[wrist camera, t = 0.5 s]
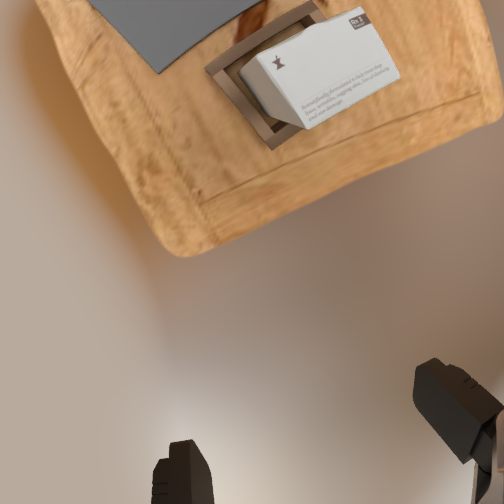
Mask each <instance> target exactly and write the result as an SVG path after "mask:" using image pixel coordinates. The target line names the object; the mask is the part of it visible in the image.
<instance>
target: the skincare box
mask: <svg viewBox="0 0 504 504" xmlns="http://www.w3.org/2000/svg"><path fill="white" fill-rule="evenodd" d="M238 75H239V76H240V78H241V79H242V81H243V82H244V84H245V85H246V86H247V88H248V89H249V91H250V92H251V94H252V95H253V97H254V98H255V99H256V101H257V102H258V104H259V105H260V107H261V108H262V110H263V111H264V113H265V114H266V115H267V116H269V117H272V118H276V119H278V120H281V121H284V122H287V123H290V124H293V125H296V126H299V127H301V128H304V129H306V130H310V129H311V128H313V127H315V126H316V125H318V124H320V123H322V122H323V121H325V120H327V119H329V118H330V117H332V116H334V115H336V114H337V113H339V112H341V111H343V110H345V109H346V108H348V107H350V106H352V105H353V104H355V103H357V102H359V101H360V100H362V99H364V98H366V97H367V96H369V95H371V94H373V93H375V92H376V91H378V90H380V89H382V88H384V87H385V86H387V85H389V84H391V83H392V82H394V81H396V80H398V79H399V78H401V76H400V74H399V72H398V70H397V67H396V65H395V64H394V62H393V60H392V58H391V56H390V54H389V52H388V51H387V49H386V47H385V45H384V43H383V42H382V40H381V38H380V36H379V35H378V33H377V31H376V30H375V28H374V26H373V25H372V23H371V22H370V20H369V19H368V17H367V16H366V14H365V12H364V10H363V9H362V7H360V6H359V7H356V8H354V9H351V10H349V11H346V12H344V13H341V14H339V15H336V16H334V17H332V18H329V19H327V20H324V21H322V22H320V23H317V24H314V25H311V26H309V27H308V28H306V29H305V30H303V31H301V32H299V33H297V34H295V35H293V36H291V37H289V38H287V39H285V40H284V41H282V42H280V43H278V44H277V45H275V46H273V47H271V48H269V49H267V50H264V51H262V52H260V53H258V54H257V55H255V56H254V57H253V58H252V59H251V60H250V61H249V62H248V63H247V64H246V65H244V66H243V67H242V68H241V69H240V70H239V71H238Z"/></svg>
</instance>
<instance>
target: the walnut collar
mask: <svg viewBox="0 0 504 504" xmlns="http://www.w3.org/2000/svg"><path fill="white" fill-rule="evenodd" d="M324 20H327V19H326V18H325V16H324V15H323V14H322V12H321V11H320V10H319V9H318V7H317V6H316V5H315V4H314V2H313V1H312V0H310V1H308V2H306V3H304V4H302V5H300V6H298V7H296V8H295V9H293V10H291V11H289V12H287V13H286V14H284V15H282V16H281V17H279V18H277V19H275V20H274V21H272V22H270V23H269V24H267V25H265V26H264V27H262V28H261V29H259V30H257V31H256V32H254V33H253V34H251V35H250V36H248V37H247V38H245V39H244V40H242V41H241V42H239V43H238V44H236V45H235V46H233V47H232V48H230V49H229V50H227V51H226V52H225V53H223V54H222V55H220V56H219V57H218V58H216V59H215V60H213V61H212V62H211V63H209V64H208V65H207V66H205V67H204V69H205V70H206V71H207V72H208V73H209V75H210V76H211V77H212V78H213V79H214V80H215V81H216V83H217V84H218V85H219V86H220V87H221V89H222V90H223V91H224V92H225V93H226V94H227V96H228V97H229V98H230V99H231V100H232V102H233V103H234V104H235V105H236V107H237V108H238V109H239V110H240V111H241V113H242V114H243V115H244V116H245V118H246V119H247V120H248V121H249V123H250V124H251V125H252V126H253V128H254V129H255V130H256V131H257V133H258V134H259V135H260V137H261V138H262V139H263V140H264V142H265V143H266V144H267V145H268V147H269V148H270V149H271V150H274V149H275V148H276V147H278V146H279V145H281V144H282V143H283V142H285V141H286V140H288V139H289V138H290V137H292V136H293V135H295V134H296V133H297V132H299V131H300V130H302V129H303V128H301V127H299V126H296V125H293V124H290V123H287V122H284V121H281V120H280V121H279V122H278V123H276V124H275V125H273V126H272V127H271V128H270V127H269V126H268V125H267V123H266V122H265V121H264V119H263V118H262V117H261V116H260V114H259V113H258V112H257V111H256V109H255V108H254V107H253V106H252V104H251V103H250V102H249V101H248V99H247V98H246V97H245V96H244V94H243V93H242V92H241V91H240V89H239V88H238V87H237V86H236V85H235V83H234V82H233V81H232V80H231V79H230V77H229V76H228V75H227V74H226V73H225V71H224V69H225V68H227V67H228V66H229V65H231V64H232V63H234V62H235V61H236V60H238V59H239V58H241V57H242V56H244V55H245V54H247V53H248V52H250V51H251V50H253V49H254V48H256V47H257V46H259V45H260V44H262V43H263V42H265V41H266V40H268V39H270V38H271V37H273V36H274V35H276V34H278V33H279V32H281V31H283V30H284V29H286V28H288V27H289V26H291V25H293V24H294V23H296V22H298V21H301V23H302V24H303V25H304V26H305V28H308V27H309V26H311V25H314V24H317V23H320V22H322V21H324Z"/></svg>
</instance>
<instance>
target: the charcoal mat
mask: <svg viewBox="0 0 504 504" xmlns="http://www.w3.org/2000/svg"><path fill="white" fill-rule="evenodd" d="M88 1H89V2H90V3H91V4H92V5H93V6H94V7H95V8H96V9H97V10H98V11H99V12H100V13H101V14H102V15H103V16H104V17H105V18H106V20H107V21H108V22H109V23H110V24H111V25H112V26H113V27H114V28H115V29H116V30H117V31H118V32H119V33H120V34H121V35H122V36H123V37H124V38H125V39H126V40H127V41H128V42H129V44H130V45H131V46H132V47H133V48H134V49H135V50H136V51H137V52H138V53H139V54H140V55H141V56H142V57H143V59H144V60H145V61H146V62H147V63H148V64H149V65H150V66H151V67H152V68H153V69H154V71H155V72H156V73H157V74H160V73H161V72H162V71H163V70H164V69H165V68H167V67H168V66H169V65H170V64H172V63H173V62H174V61H175V60H177V59H178V58H179V57H180V56H182V55H183V54H184V53H185V52H187V51H188V50H189V49H191V48H192V47H193V46H195V45H196V44H197V43H199V42H200V41H201V40H203V39H204V38H206V37H207V36H208V35H210V34H211V33H213V32H214V31H216V30H217V29H218V28H220V27H221V26H223V25H224V24H226V23H227V22H229V21H230V20H232V19H233V18H235V17H237V16H238V15H240V14H241V13H243V12H245V11H246V10H248V9H249V8H251V7H253V6H254V5H256V4H258V3H260V2H261V1H263V0H88Z"/></svg>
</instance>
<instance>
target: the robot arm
mask: <svg viewBox="0 0 504 504" xmlns="http://www.w3.org/2000/svg"><path fill="white" fill-rule="evenodd" d="M413 401H414V404H415V406H416V408H417V409H418V411H419V412H420V413H421V414H422V415H423V416H424V418H425V419H426V420H427V421H428V423H429V424H430V425H431V426H432V427H433V429H434V430H435V431H436V432H437V433H438V434H439V436H441V438H442V439H443V440H444V442H445V443H446V444H447V445H448V447H449V448H450V449H451V450H452V451H453V453H454V454H455V455H456V456H457V457H458V459H459V460H460V461H461V462H462V463H463V464H465V463H466V462H468V461H469V460H470V459H472V458H473V459H474V460H475V461H476V463H475V467H474V480H473V490H472V500H471V504H504V406H503V405H502V404H501V403H500V402H499V401H498V400H497V399H496V398H495V397H494V396H492V395H491V394H490V393H489V392H488V391H487V390H486V389H484V388H483V387H482V386H481V385H479V384H478V382H477V381H475V380H474V379H473V378H471V376H470V375H469V374H467V373H466V372H465V371H464V370H463V369H461V368H459V367H455V366H453V365H451V364H449V365H448V366H446V365H444V364H443V363H442V362H441V361H440V360H439V359H437V358H433V359H431V360H429V361H427V362H425V363H423V364H421V365H419V366H417V367H416V370H415V381H414V388H413ZM152 484H153V487H152V499H151V504H214V495H213V486H212V477H211V472H210V469H209V466H208V464H207V462H206V460H205V459H204V457H203V455H202V454H201V452H200V450H199V449H198V447H197V445H196V444H195V442H194V441H193V440H192V439H191V440H185V441H179V442H172V443H170V446H169V458H165V459H160V460H159V461H158V463H157V465H156V467H155V469H154V471H153V481H152Z"/></svg>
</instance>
